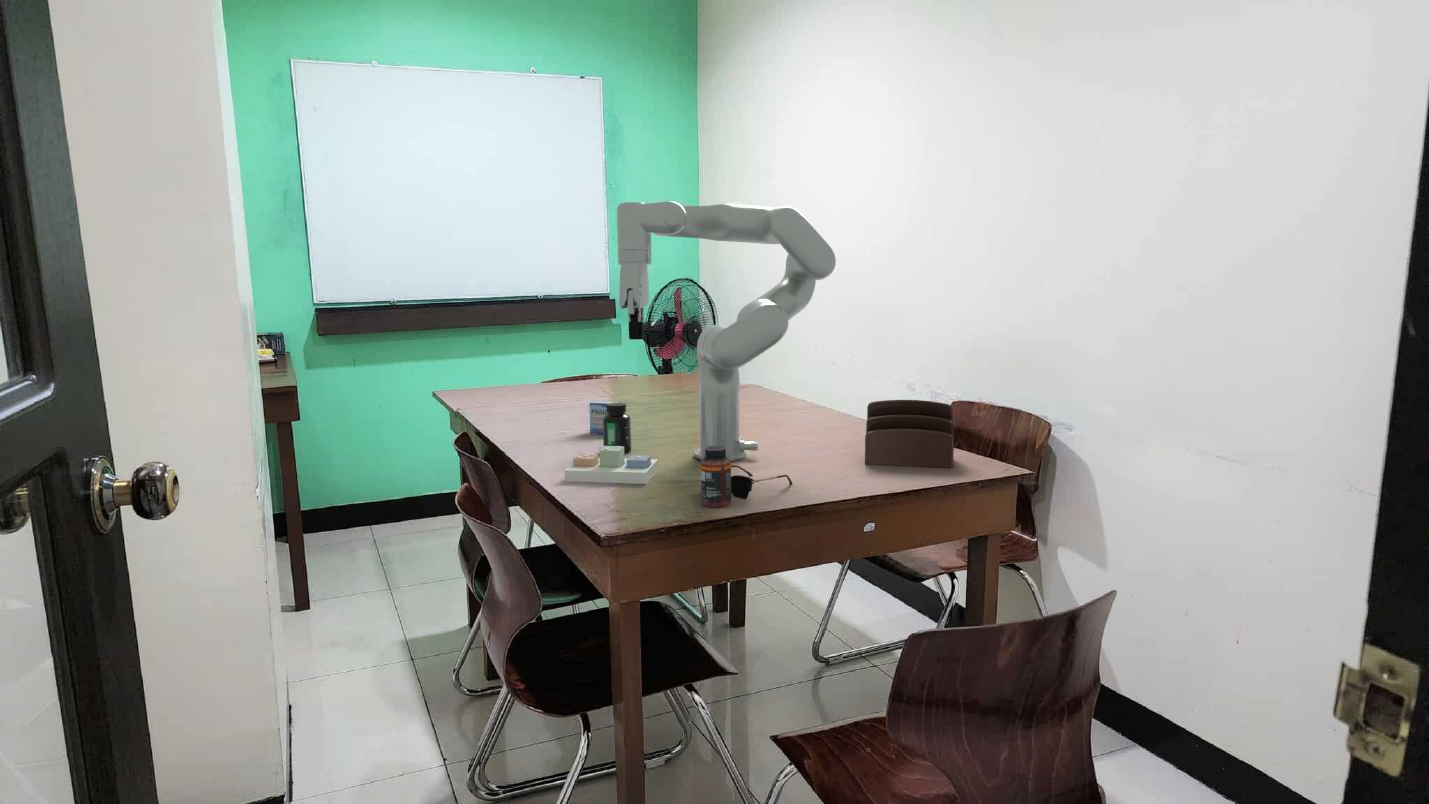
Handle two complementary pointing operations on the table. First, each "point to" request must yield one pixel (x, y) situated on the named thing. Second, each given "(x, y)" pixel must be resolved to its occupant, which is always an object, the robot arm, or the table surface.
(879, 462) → the letter holder
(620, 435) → the supplement bottle
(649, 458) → the blue pull-out drawer
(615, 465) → the pale green cube
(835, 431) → the table surface
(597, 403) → the medicine box
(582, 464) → the pink three-dot die
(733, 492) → the sunglasses
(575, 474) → the board
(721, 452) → the supplement bottle
